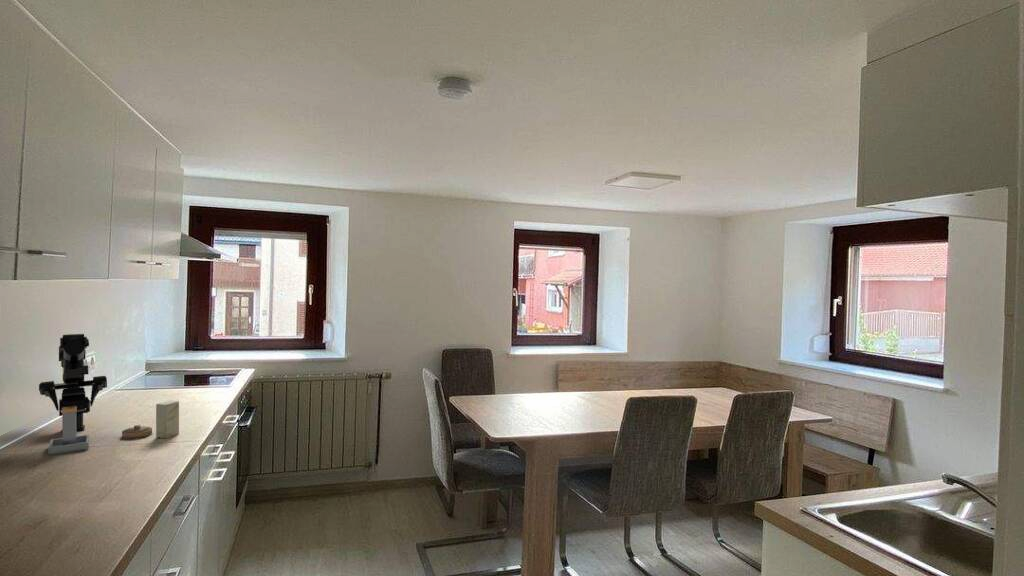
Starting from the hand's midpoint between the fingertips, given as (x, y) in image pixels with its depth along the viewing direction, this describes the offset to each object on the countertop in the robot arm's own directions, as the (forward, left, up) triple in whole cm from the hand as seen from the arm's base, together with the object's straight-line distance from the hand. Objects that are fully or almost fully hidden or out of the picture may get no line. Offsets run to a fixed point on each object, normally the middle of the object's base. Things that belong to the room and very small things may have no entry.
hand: (74, 408), depth 193 cm
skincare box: (+9, +27, -12) cm, 31 cm away
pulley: (+3, +18, -11) cm, 22 cm away
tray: (+9, -1, -11) cm, 15 cm away
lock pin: (+9, -1, -11) cm, 14 cm away
